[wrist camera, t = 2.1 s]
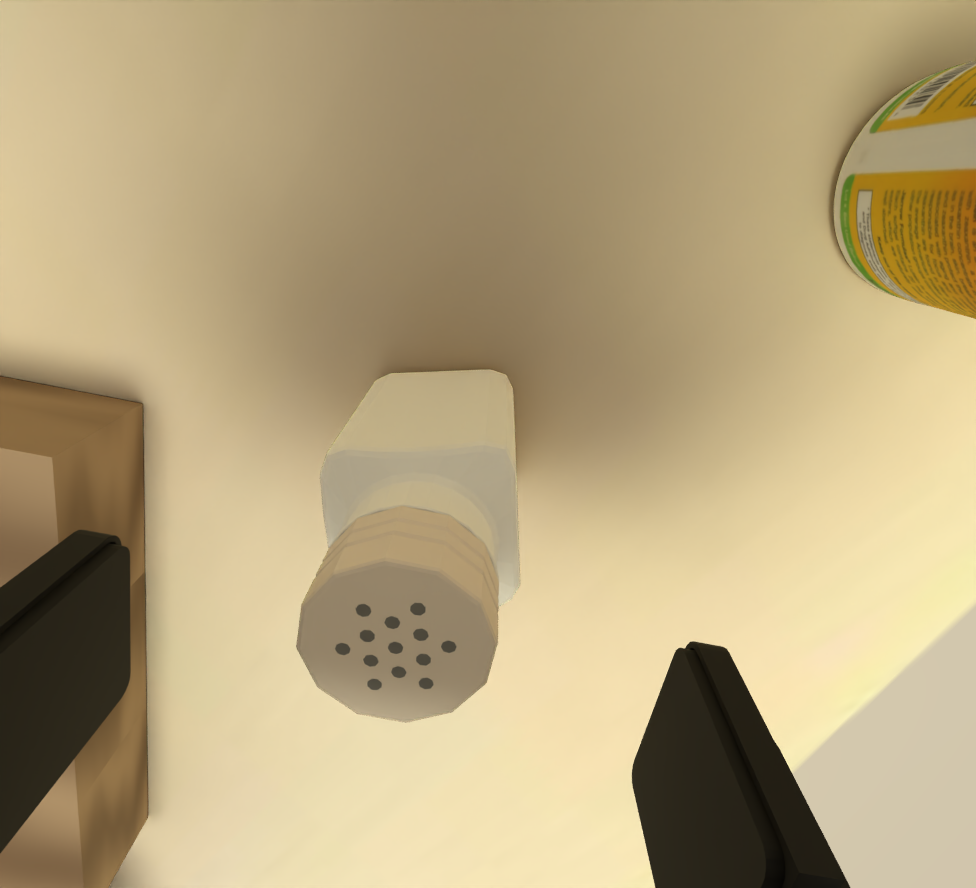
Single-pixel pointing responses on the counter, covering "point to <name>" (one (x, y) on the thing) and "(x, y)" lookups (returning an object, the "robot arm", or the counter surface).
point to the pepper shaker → (415, 545)
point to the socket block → (120, 511)
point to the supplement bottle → (915, 194)
